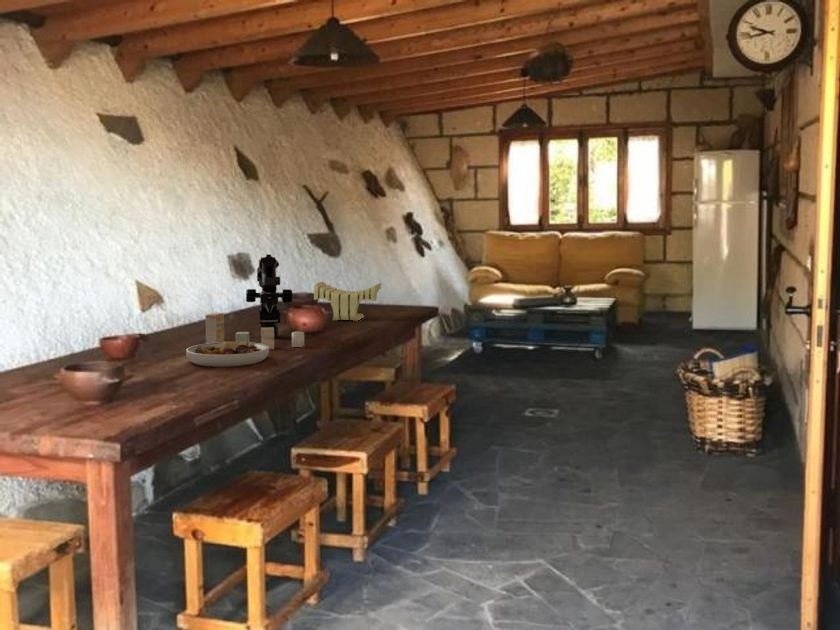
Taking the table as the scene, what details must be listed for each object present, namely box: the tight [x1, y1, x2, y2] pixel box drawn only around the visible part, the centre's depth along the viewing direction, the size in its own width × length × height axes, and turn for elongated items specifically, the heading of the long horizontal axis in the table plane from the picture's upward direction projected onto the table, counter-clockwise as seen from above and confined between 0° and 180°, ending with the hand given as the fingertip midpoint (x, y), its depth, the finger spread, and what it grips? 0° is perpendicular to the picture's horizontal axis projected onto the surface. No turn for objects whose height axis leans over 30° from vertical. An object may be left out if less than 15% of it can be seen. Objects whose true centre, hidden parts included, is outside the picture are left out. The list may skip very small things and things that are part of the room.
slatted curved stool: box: [313, 281, 382, 322], centre depth 447 cm, size 30×16×18 cm, turn 81°
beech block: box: [260, 327, 275, 350], centre depth 363 cm, size 5×5×8 cm
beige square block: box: [291, 330, 305, 348], centre depth 366 cm, size 5×5×6 cm
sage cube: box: [234, 331, 250, 342], centre depth 372 cm, size 5×5×5 cm
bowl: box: [185, 340, 270, 368], centre depth 336 cm, size 30×30×8 cm
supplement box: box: [204, 312, 225, 344], centre depth 369 cm, size 8×5×13 cm, turn 168°
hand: (269, 312), depth 370 cm, fingers closed
